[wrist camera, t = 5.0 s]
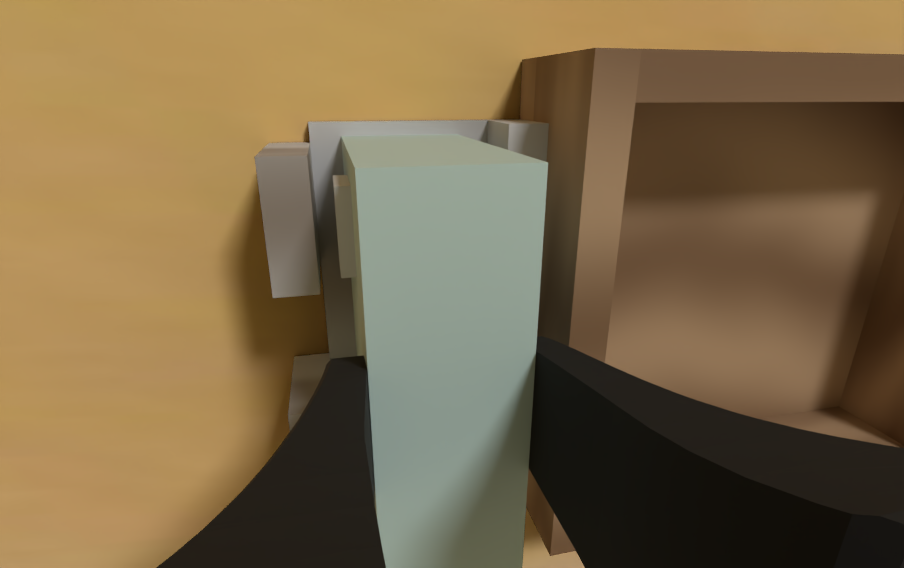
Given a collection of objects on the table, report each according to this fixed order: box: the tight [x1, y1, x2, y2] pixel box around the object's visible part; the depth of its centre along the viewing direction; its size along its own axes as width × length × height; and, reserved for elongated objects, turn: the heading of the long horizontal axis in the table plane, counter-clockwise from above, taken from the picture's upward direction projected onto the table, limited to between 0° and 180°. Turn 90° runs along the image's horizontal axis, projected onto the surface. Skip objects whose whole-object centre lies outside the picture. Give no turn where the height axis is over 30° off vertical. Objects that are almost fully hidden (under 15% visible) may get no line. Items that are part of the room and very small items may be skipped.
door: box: [333, 134, 548, 568], centre depth 12 cm, size 9×3×6 cm, turn 0°
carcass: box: [255, 48, 904, 556], centre depth 15 cm, size 13×21×4 cm, turn 90°
